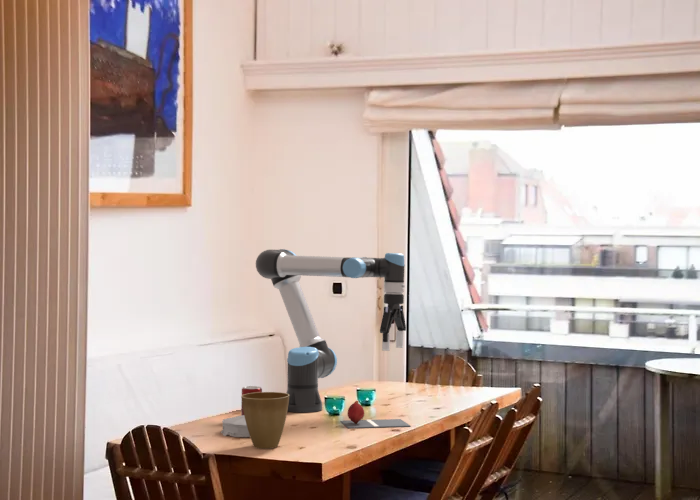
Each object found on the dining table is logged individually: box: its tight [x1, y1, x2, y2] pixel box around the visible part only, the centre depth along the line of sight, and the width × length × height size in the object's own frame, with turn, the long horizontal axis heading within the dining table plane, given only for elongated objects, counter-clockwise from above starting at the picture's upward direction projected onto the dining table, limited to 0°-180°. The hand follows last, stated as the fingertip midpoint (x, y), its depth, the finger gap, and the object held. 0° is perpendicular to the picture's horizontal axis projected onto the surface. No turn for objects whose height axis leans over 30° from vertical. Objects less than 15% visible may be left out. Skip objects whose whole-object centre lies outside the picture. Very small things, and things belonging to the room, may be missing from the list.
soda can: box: [240, 385, 263, 416], centre depth 356 cm, size 7×7×12 cm
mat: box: [340, 418, 412, 430], centre depth 352 cm, size 22×14×1 cm, turn 102°
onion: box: [347, 400, 365, 423], centre depth 350 cm, size 6×6×8 cm
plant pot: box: [240, 391, 289, 450], centre depth 310 cm, size 15×15×16 cm
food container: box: [220, 415, 250, 438], centre depth 334 cm, size 20×20×7 cm
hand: (392, 349), depth 382 cm, fingers open, 13 cm apart
